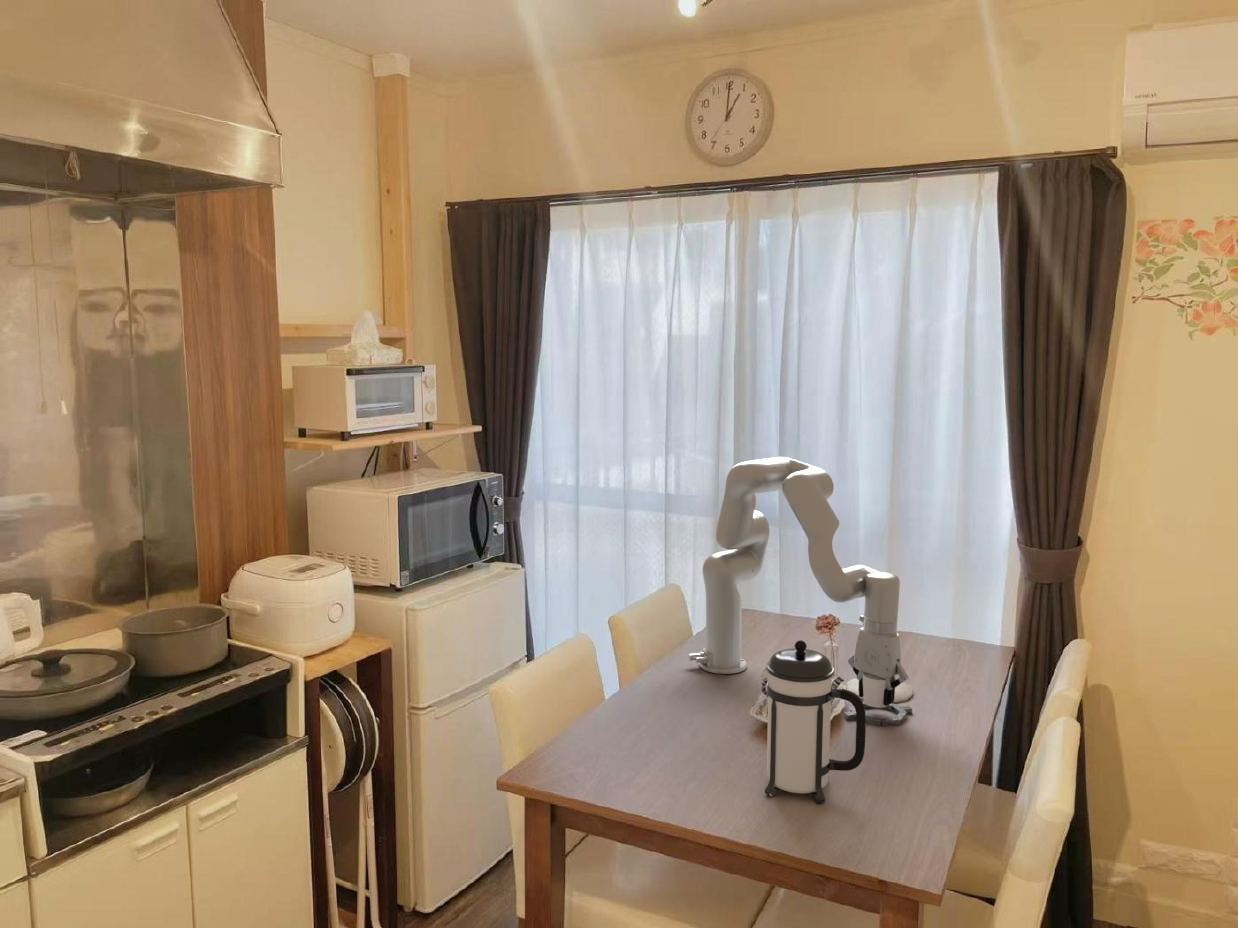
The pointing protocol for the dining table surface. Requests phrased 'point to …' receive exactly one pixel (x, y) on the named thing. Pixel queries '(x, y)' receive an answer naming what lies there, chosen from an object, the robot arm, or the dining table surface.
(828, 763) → the coffee press
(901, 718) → the collar
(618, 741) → the dining table surface
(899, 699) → the saucer
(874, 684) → the white cup
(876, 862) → the dining table surface
